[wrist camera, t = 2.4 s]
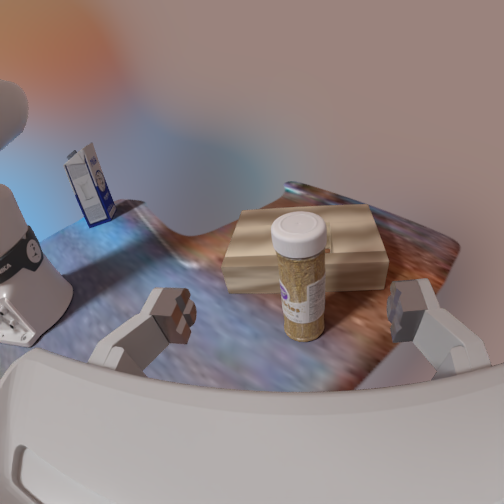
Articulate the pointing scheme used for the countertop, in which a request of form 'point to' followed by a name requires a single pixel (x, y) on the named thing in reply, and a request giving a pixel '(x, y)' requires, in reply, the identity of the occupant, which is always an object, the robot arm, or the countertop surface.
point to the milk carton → (90, 186)
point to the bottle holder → (338, 240)
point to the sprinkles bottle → (301, 272)
